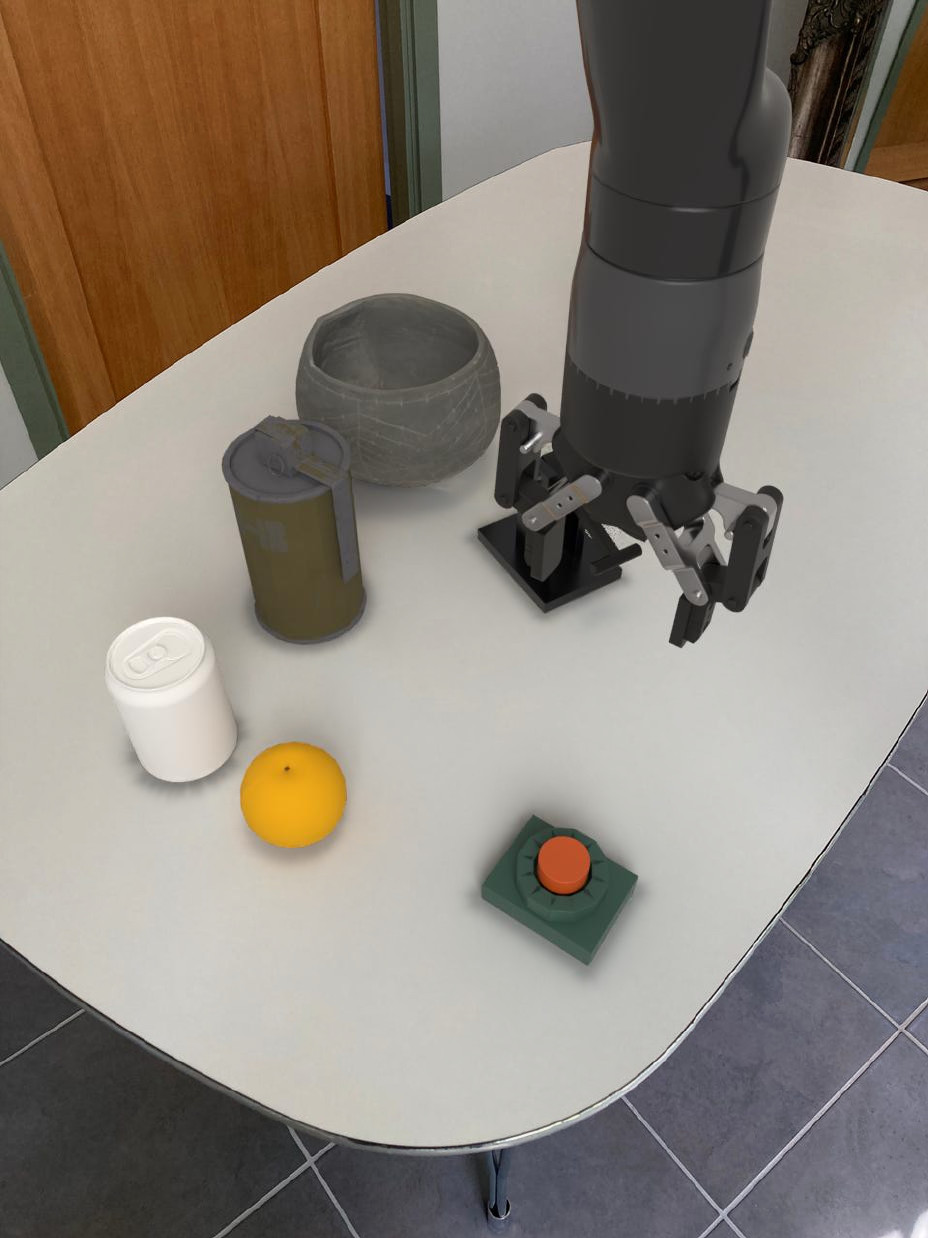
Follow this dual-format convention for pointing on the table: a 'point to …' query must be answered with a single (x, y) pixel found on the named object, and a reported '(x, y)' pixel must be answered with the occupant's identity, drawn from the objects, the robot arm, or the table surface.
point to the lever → (597, 533)
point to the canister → (297, 527)
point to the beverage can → (171, 698)
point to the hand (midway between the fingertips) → (612, 602)
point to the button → (563, 865)
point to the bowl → (402, 387)
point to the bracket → (572, 569)
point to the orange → (293, 794)
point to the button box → (559, 916)
